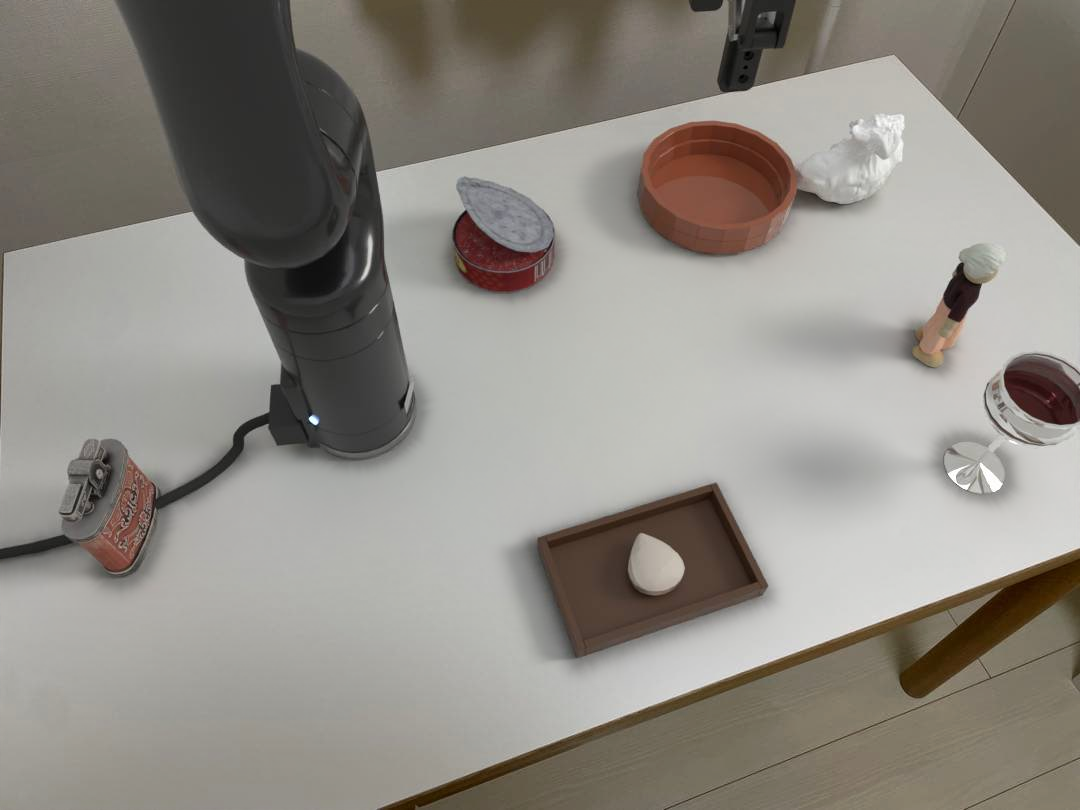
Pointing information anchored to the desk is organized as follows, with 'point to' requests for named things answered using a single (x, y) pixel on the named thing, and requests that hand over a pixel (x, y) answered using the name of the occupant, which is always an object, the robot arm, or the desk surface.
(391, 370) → the robot arm
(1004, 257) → the grandmother figurine
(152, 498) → the lighter
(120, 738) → the desk surface
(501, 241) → the canned food
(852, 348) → the desk surface
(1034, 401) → the wineglass
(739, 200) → the bowl
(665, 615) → the tray
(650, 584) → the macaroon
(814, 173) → the bust
